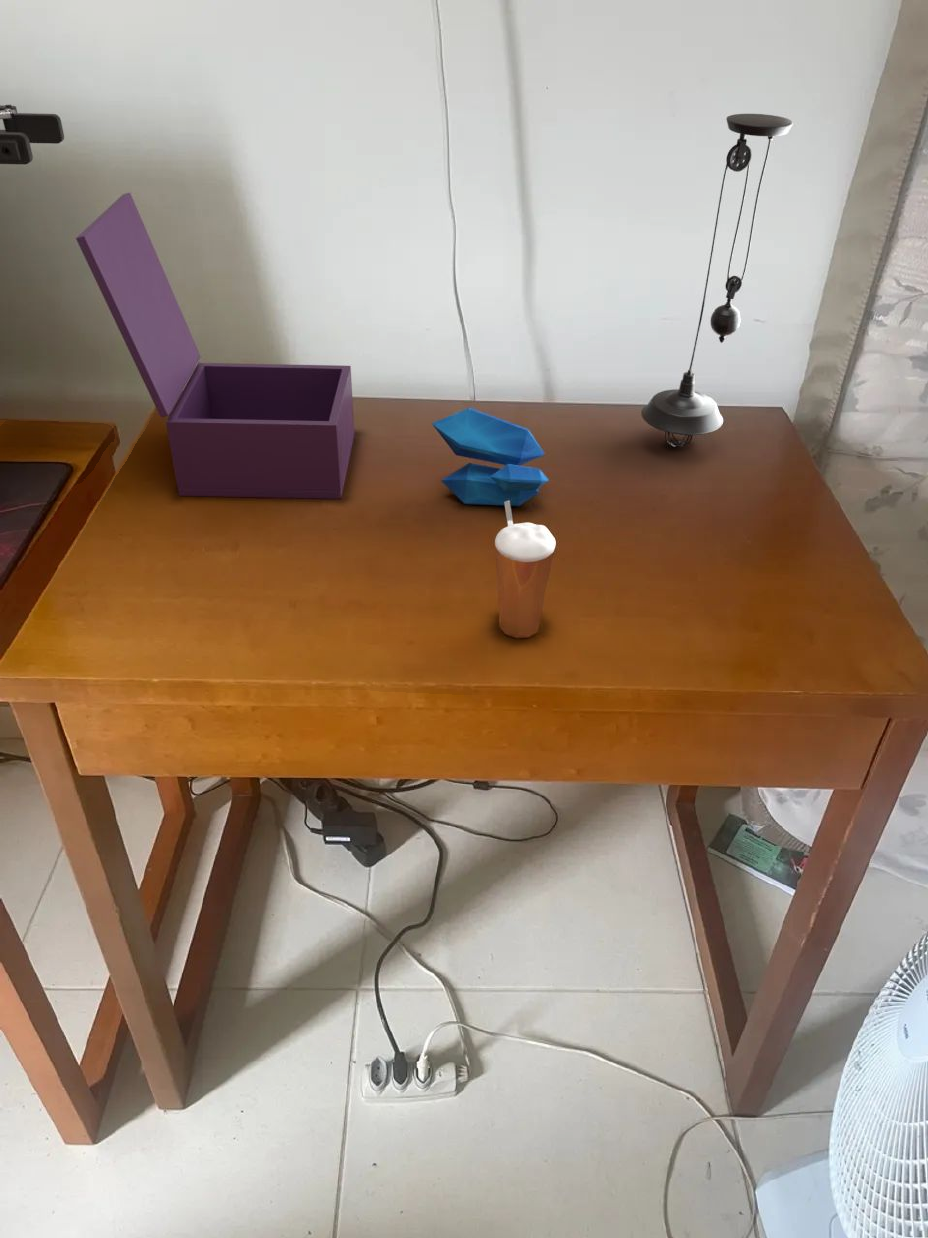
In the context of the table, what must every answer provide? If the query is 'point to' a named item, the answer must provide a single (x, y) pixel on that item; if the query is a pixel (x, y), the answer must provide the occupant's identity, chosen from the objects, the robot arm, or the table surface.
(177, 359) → the lid
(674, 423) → the light fixture
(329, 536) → the table surface
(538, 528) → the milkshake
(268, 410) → the box
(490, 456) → the gemstones
